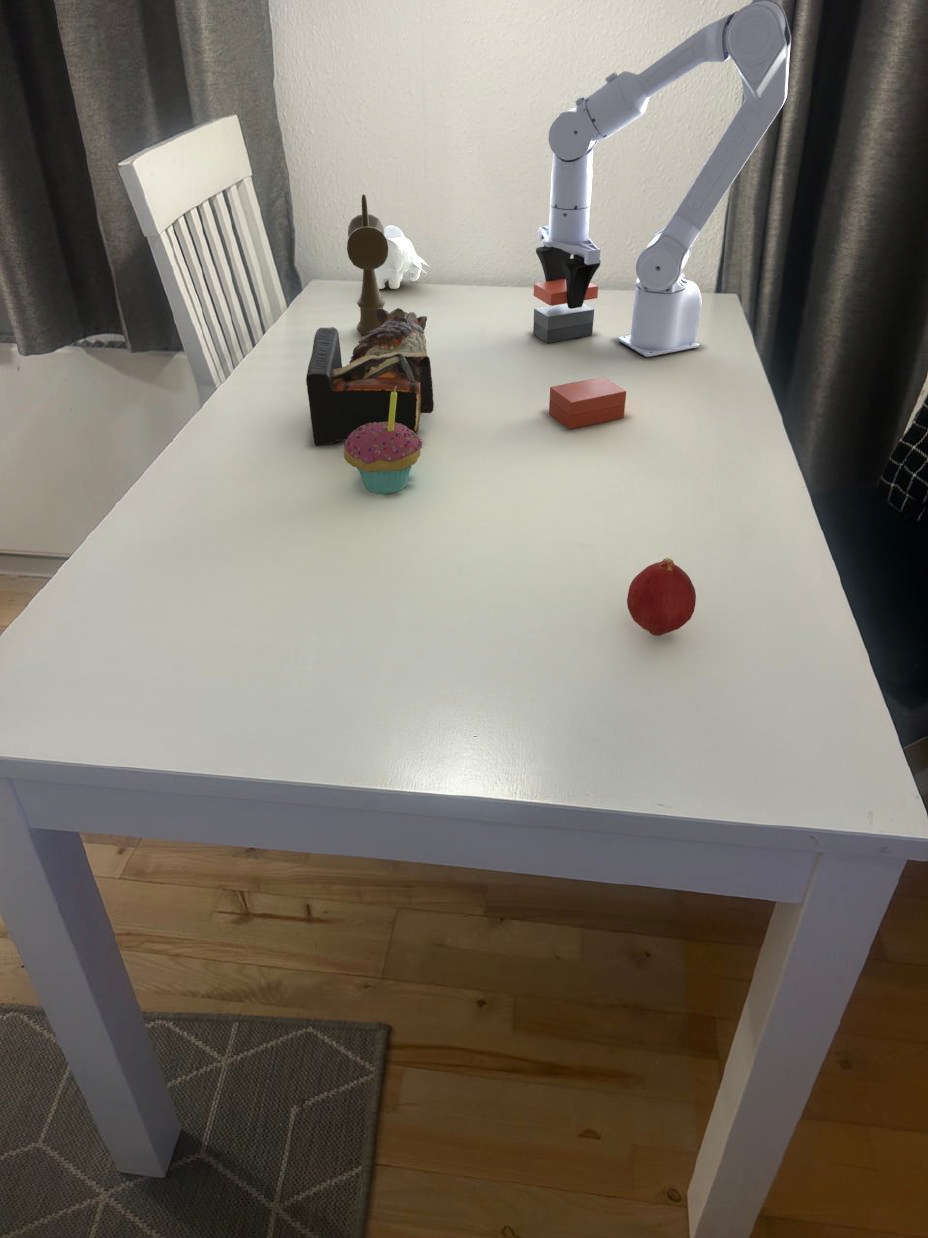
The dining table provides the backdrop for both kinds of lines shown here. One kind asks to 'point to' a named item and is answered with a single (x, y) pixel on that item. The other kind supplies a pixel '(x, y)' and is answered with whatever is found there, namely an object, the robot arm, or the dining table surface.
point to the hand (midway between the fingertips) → (564, 301)
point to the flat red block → (559, 292)
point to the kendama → (367, 263)
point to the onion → (661, 598)
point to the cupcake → (383, 452)
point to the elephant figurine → (398, 260)
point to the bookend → (370, 377)
